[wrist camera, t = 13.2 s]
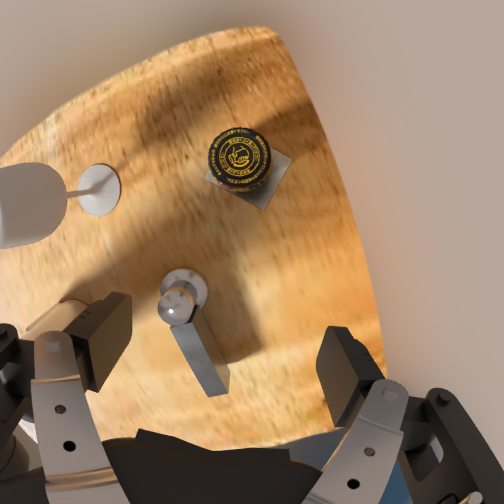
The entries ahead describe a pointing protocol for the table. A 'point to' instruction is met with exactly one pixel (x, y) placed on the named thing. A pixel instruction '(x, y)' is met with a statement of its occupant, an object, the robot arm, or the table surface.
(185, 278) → the swing arm mount
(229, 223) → the table surface
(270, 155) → the condiment
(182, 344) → the swing arm
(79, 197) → the wineglass
